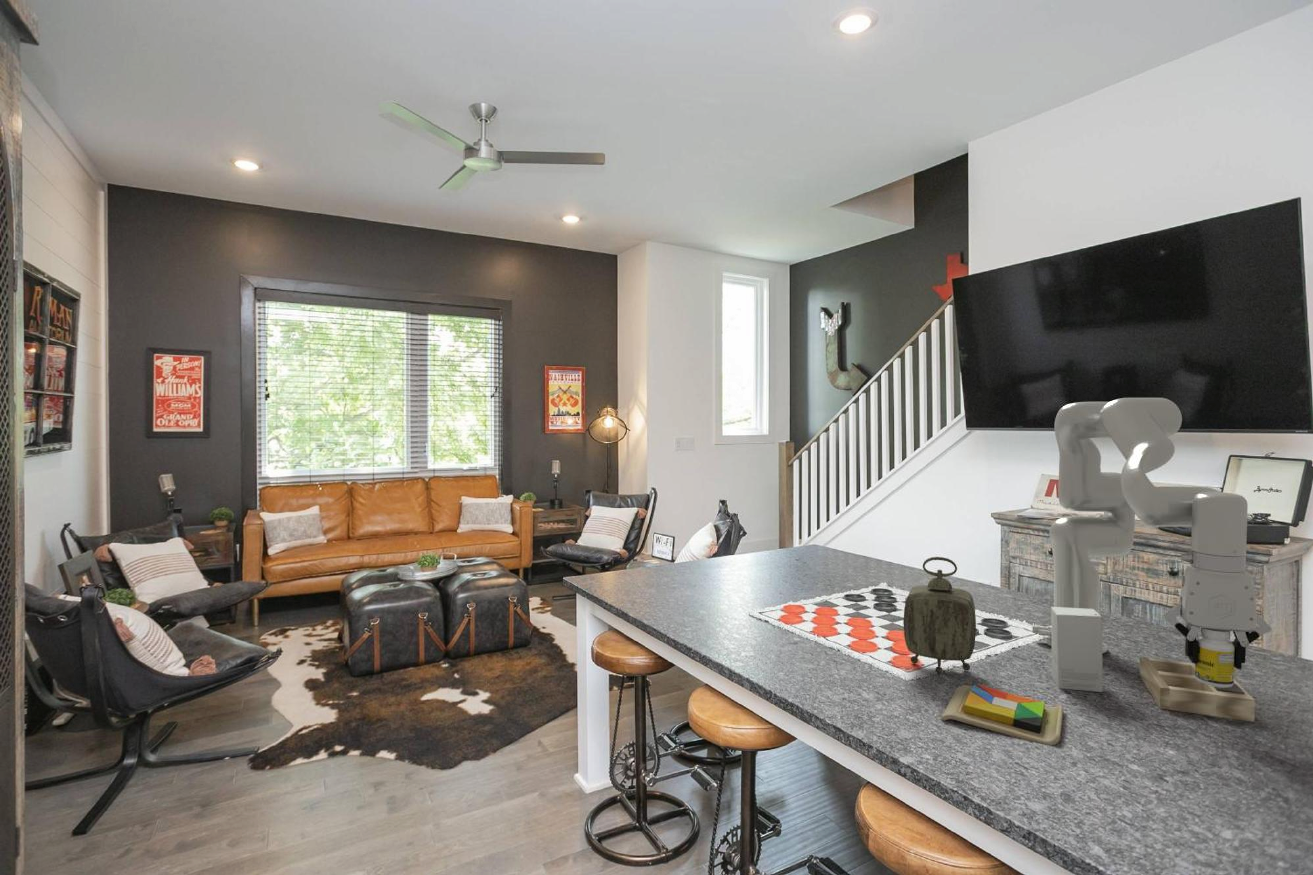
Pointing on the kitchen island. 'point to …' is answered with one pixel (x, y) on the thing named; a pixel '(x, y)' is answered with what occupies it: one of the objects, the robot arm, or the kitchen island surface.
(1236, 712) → the socket block
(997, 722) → the wooden puzzle
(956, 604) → the tabletop clock
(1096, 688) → the skincare box
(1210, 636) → the supplement bottle
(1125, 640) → the kitchen island surface
